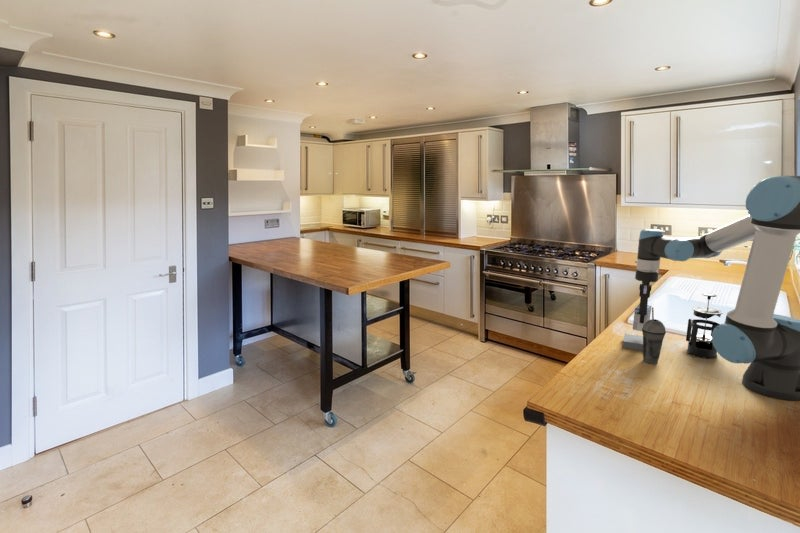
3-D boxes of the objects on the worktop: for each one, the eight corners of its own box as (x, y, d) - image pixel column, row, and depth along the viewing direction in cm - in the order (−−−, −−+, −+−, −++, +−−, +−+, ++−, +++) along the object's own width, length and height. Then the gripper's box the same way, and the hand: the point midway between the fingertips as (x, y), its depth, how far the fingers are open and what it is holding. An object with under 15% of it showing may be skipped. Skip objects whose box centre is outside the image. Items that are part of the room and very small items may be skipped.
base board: (655, 354, 161) (656, 346, 161) (622, 348, 167) (623, 341, 166) (655, 345, 170) (656, 338, 169) (624, 340, 175) (624, 333, 175)
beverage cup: (665, 366, 149) (672, 311, 145) (642, 364, 151) (648, 310, 147) (657, 358, 156) (663, 305, 152) (635, 356, 158) (641, 304, 154)
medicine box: (636, 324, 171) (638, 303, 170) (649, 326, 168) (651, 305, 167) (632, 329, 165) (634, 307, 164) (645, 332, 162) (647, 310, 161)
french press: (725, 358, 156) (734, 296, 152) (704, 360, 154) (713, 298, 150) (696, 346, 167) (703, 289, 163) (676, 348, 165) (683, 290, 161)
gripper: (637, 264, 173) (631, 318, 178) (634, 274, 155) (628, 333, 160) (658, 266, 169) (652, 321, 174) (658, 276, 152) (651, 337, 156)
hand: (641, 327), depth 167 cm, fingers closed on medicine box, 8 cm apart
